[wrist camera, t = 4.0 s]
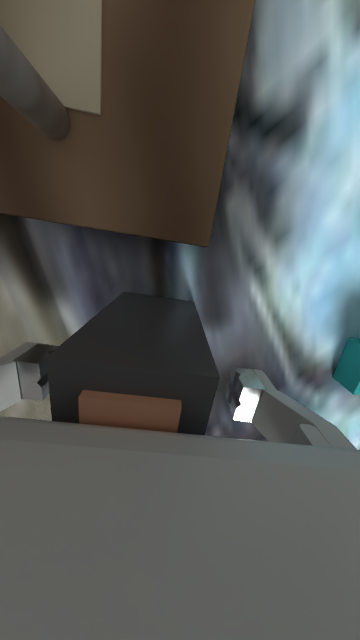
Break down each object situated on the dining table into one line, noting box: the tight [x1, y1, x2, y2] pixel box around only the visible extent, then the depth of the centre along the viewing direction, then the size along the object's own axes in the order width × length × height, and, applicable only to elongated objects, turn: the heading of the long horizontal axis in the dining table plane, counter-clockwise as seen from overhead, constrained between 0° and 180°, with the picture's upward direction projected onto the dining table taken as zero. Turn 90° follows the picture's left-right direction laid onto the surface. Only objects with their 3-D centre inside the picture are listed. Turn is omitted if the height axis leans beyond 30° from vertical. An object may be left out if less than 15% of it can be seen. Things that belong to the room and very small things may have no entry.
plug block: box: [46, 292, 220, 435], centre depth 9 cm, size 4×6×7 cm, turn 171°
